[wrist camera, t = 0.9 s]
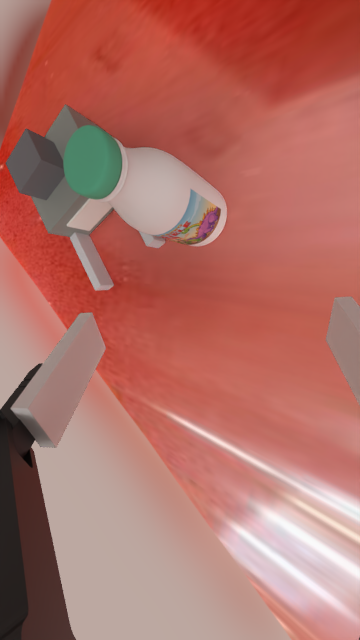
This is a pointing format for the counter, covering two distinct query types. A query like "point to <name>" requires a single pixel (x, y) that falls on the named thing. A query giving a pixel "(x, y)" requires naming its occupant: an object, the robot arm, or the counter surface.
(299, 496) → the counter surface
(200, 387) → the counter surface
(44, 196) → the stacked grey blocks
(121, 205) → the milk bottle
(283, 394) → the counter surface
